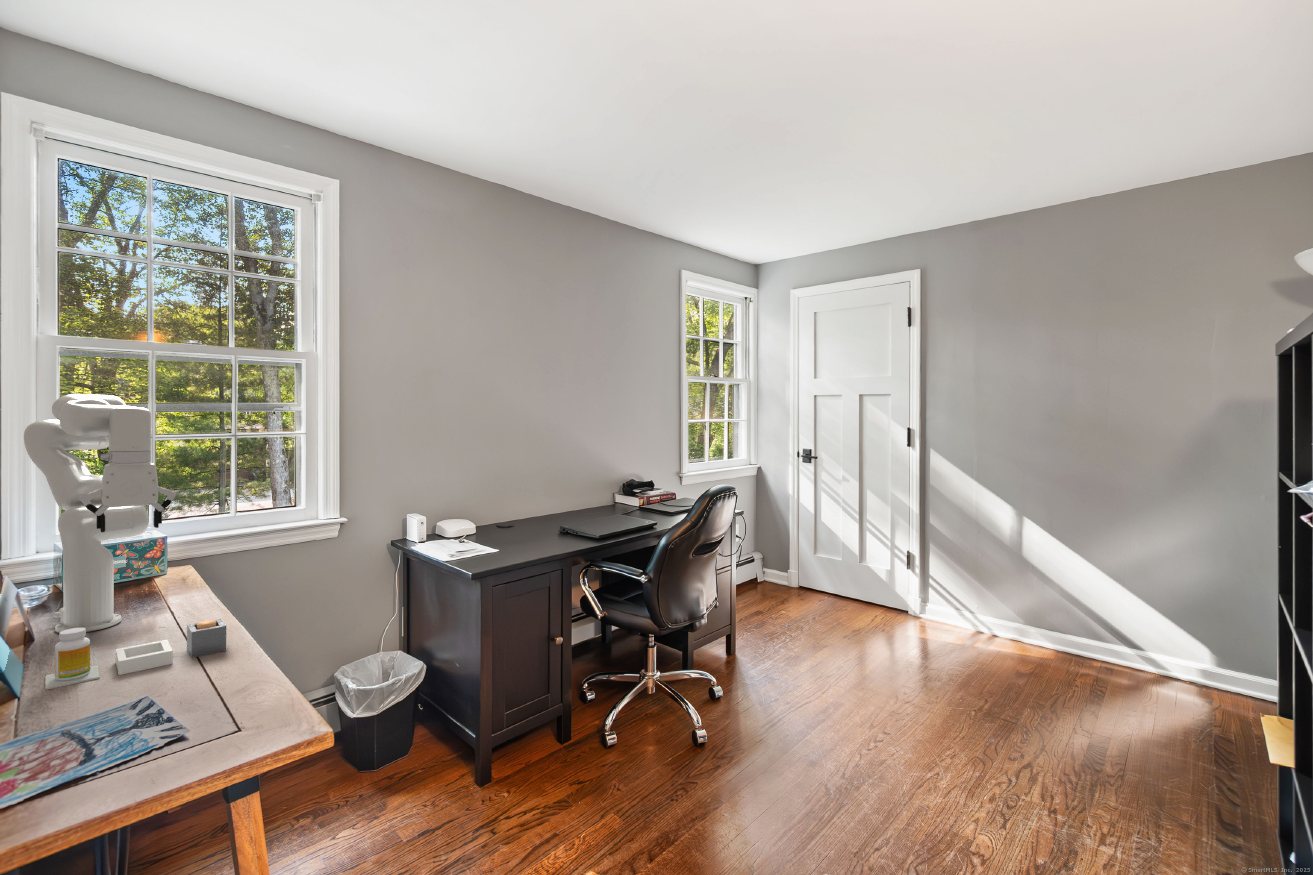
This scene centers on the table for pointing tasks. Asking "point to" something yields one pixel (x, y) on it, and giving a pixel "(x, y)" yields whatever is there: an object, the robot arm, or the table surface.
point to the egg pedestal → (206, 639)
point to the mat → (53, 683)
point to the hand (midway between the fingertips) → (130, 529)
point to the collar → (143, 656)
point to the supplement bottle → (72, 655)
